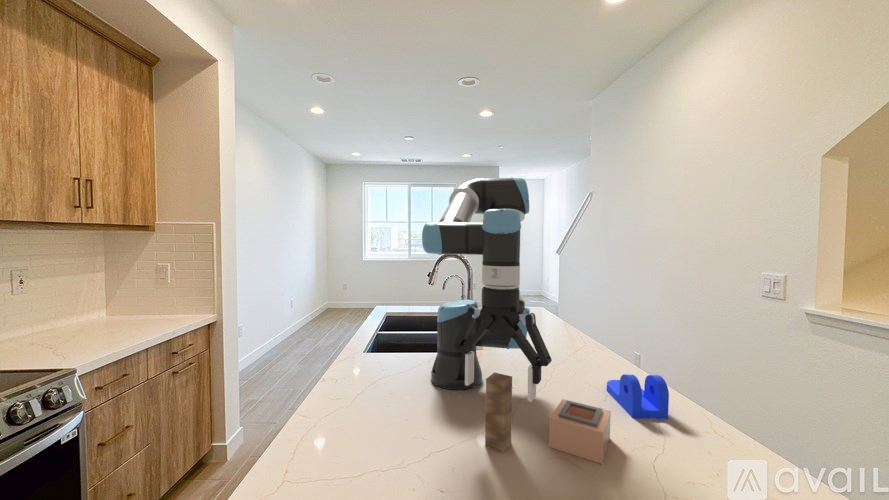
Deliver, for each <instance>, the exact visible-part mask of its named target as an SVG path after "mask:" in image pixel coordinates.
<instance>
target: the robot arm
mask: <svg viewBox="0 0 889 500" xmlns="http://www.w3.org/2000/svg"><path fill="white" fill-rule="evenodd" d="M528 188H529V187H528V184H527V181H526V179H524V178H521V177H513V176H511V177H501V178H500V177H497V178H494V177H493V178H488V177H487V178H482V177H481V178H479V177H478V178H475V179H471V180H468V181H466V182H464V183H462V184H460V185H459V186H458V187H456V188H455V189H454V190H453V191H452V193H451V194H450V196H449V200H448V206H447V208H446V209H445V211H444V213H443V214H442V216H441V218H440V219H439V221H431V222H426V223H425V224H424V225H423V228H422V232H421V245H422V248H423V251H424V253H426V254H429V255H430V254H432V255H439V256H441V255H467V256H468V255H471V256H472V255H473V256H474V255H475V256H476V255H477V256H482V263H481V264H482V267H481V268H482V269H481V283H482V285H484V286H482V288H481V305H478V303H477V301H476V300H473V299H459V300H453V301H449V302H445V303H443V304H441V305H439V307H438V309H437V319H436V322H437V328H436V330H437V334H436V335H437V336H436V337H437V338H436V339H437V340H436V341H437V342H436V343H437V347H436V349H437V351H436V356H435V359H434V362H433V365H432V369H431V373H430V374H431V375H430V377H431V378H430V380H431V382H432V383H433V384H434V386H435V385H436V386H437V387H439V388H443V389H447V390H453V391H454V390H455V391H456V390H457V391H459V390H461V391H462V390H468V389H472V388H475V387H478V386H479V385H481V383H482V381H483V372H482V368H481V365H480V361H479V358H478V355H477V347H480V348H481V347H482V348H498V349H507V350H509V349H511V350H512V349H514V350H515V349H517V350H518V349H519V350H520V351H521V352H522V353H523V355H524V356H525V357H526V358H527V360H528V362H529V364H530V365H529V366H527V402H530V403H532V402H533V401H534V400H535V399H536V397H537V385H539V384H540V383H541V381H542V367H547V366H549V364H551V362H552V357H551V355H550V353H549V351H548V348H547V346H546V343H545V342H544V338H543V337H542V335H541V333H540V329H539V327H538V326H537V322H536V321H537V317H536V314H535V313H534V312H531V310H530V308H528V307H525V305H526V303H525V300H524V299H523V298H522V297H521V296H520V294H521V292H520V283H521V280H520V279H521V277H520V276H521V275H520V274H521V266H520V265H521V264H520V263H521V262H520V259H521V232H522V231H521V229H522V222H523V221H524V220H525V217H526V216H525V215H527V214H529V213H530V200H529V199H530V197H529V196H530V195H529V189H528ZM474 214H479V215H481V214H482V215H483V217H482V222H481V221H480V222H472V221H471V220H472V217H473V215H474ZM530 312H531V313H530ZM528 335H529V338H530V340H531V343H532V344H531V343H530V341H529V340H528V339H527V336H528ZM532 345H533V346H532Z"/></svg>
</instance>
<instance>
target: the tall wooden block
mask: <svg viewBox="0 0 889 500" xmlns="http://www.w3.org/2000/svg"><path fill="white" fill-rule="evenodd" d="M512 404H513V375H512V376H511V375H506V374H502V373H499V372H495V371H494V372H493V373H491V374H490V375H489V376H488V377H486V378H485V430H484V431H485V439H484V440H485V441H484V444H485V445H484V447H485V448H488V449H491V450H494V451H497V452H500V453H502V454H505V452H506V450H508V448H509V447H510V445H511V444H512V423H513V422H512V416H513V415H512V414H513V407H512V406H513V405H512Z"/></svg>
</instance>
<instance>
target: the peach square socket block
mask: <svg viewBox="0 0 889 500" xmlns="http://www.w3.org/2000/svg"><path fill="white" fill-rule="evenodd" d="M611 415H612V414H611V410H609V409H606V408H605V409H604V408H602V407H597V406H593V405H589V404H583V403H580V402H576V401H572V400H567V399H564V398H562V399H561V400H560V402H559V404H558V405H557V406H556V407H555V409H554V411H553V413H552V414H551V415H550V417H549V439H548V440H549V441H548V445H549V448H552V449H556V450H558V451H562V452H565V453H568V454H570V455H574V456H576V457H580V458H583V459H587V460H590V461H592V462H595V463H598V464H601V465H603V463H604V460H605V457H606V453H607V450H608V446H609V443H610V439H611V417H612V416H611Z"/></svg>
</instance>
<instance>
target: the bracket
mask: <svg viewBox="0 0 889 500" xmlns="http://www.w3.org/2000/svg"><path fill="white" fill-rule="evenodd" d="M643 387H644V389H643V388H642V387H641V383H640V381H639V379H638V377H637V376H636V375H635V374H626V373H625V374H622V375H620V378H619V379H610V380H608V381H607V382H606V392H607V393H608V394H609V395H610V396H611V397H612V398H613V400H614V401H616V403H617V404H619V406H620V407H621V408H622V409H623V410H624V411H625V412H626V413H627V414H628V415H629V416H630V417H631V418H632V419H652V420H653V419H656V420H658V419H663V420H668V419H669V405H670V404H669V400H670V392H669V388H668V385H667V382H666V380H665V379H664V377H662V376H661V375H658V374H650V375H649V374H648V375H646V376H645V379H644V386H643Z"/></svg>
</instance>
